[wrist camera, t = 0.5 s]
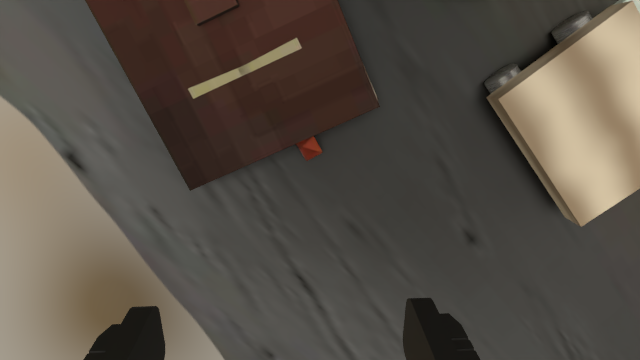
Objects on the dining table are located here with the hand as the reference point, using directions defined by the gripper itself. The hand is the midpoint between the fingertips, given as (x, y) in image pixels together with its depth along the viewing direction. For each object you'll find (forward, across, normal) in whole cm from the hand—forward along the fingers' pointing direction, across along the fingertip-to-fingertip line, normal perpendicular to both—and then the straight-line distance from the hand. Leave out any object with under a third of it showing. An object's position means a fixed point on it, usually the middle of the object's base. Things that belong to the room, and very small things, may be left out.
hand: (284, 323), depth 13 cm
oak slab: (+23, -26, -1) cm, 35 cm away
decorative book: (+29, +6, -10) cm, 31 cm away
